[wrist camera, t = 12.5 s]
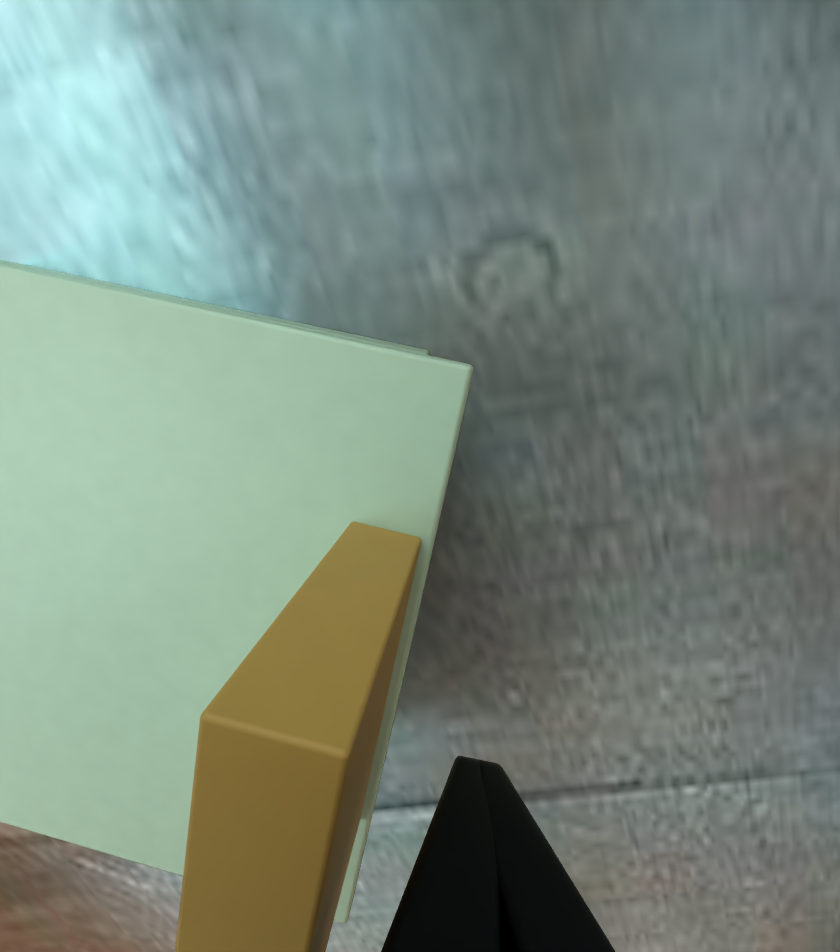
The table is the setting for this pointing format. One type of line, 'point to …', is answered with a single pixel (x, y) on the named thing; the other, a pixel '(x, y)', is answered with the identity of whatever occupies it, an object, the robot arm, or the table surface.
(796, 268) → the table surface
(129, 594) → the chest lid
